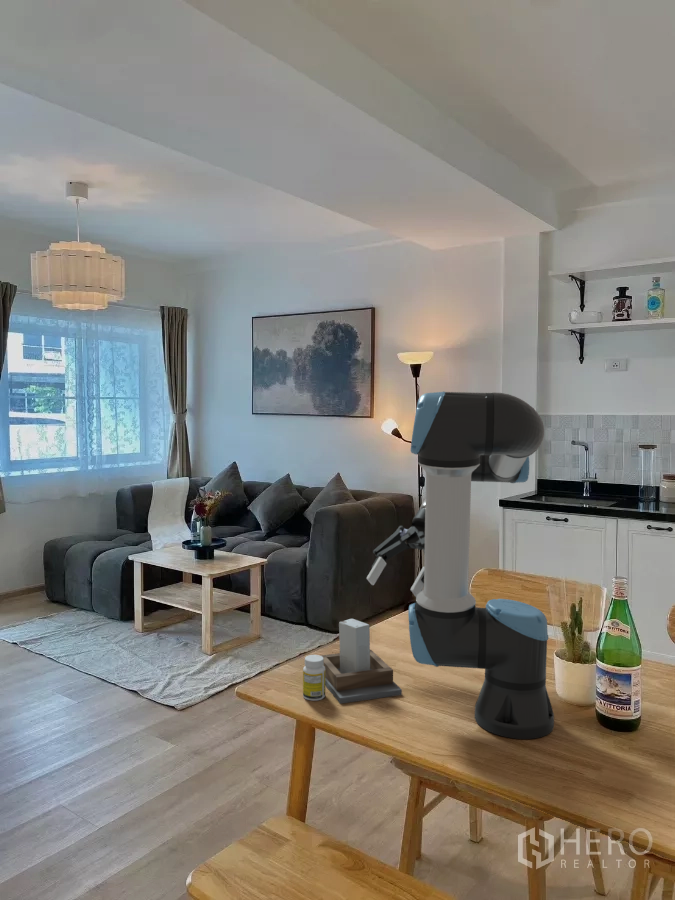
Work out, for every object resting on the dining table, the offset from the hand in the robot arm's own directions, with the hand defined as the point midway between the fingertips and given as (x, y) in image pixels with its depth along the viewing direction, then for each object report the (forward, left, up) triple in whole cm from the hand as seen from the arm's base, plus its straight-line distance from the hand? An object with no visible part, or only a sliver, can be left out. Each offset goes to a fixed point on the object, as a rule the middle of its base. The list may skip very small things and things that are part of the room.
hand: (391, 587), depth 163 cm
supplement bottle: (-10, +22, -19) cm, 31 cm away
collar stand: (-5, +11, -19) cm, 22 cm away
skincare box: (-5, +11, -18) cm, 22 cm away
